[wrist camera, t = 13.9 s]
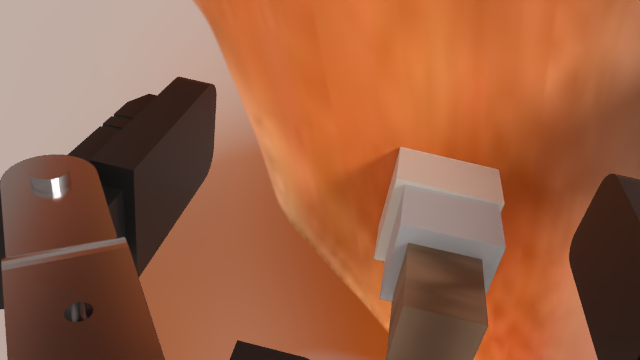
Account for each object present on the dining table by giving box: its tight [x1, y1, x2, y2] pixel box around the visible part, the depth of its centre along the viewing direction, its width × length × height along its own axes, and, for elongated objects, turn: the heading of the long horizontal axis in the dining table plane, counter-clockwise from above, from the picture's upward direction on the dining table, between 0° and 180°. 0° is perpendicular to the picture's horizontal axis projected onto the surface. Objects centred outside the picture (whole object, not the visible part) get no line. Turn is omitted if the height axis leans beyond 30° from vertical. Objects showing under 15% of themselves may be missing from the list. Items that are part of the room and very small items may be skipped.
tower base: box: [374, 147, 505, 262], centre depth 45 cm, size 8×8×5 cm
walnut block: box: [386, 243, 488, 360], centre depth 37 cm, size 5×5×6 cm
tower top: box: [380, 184, 506, 302], centre depth 41 cm, size 7×7×5 cm
